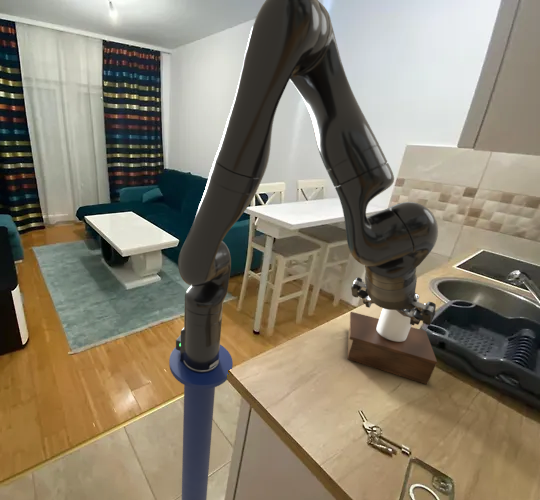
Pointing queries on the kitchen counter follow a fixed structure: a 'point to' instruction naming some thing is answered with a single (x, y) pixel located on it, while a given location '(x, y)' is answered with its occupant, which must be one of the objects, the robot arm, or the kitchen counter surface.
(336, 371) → the kitchen counter surface
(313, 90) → the robot arm
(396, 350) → the tray cover
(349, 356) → the tray box
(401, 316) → the can
